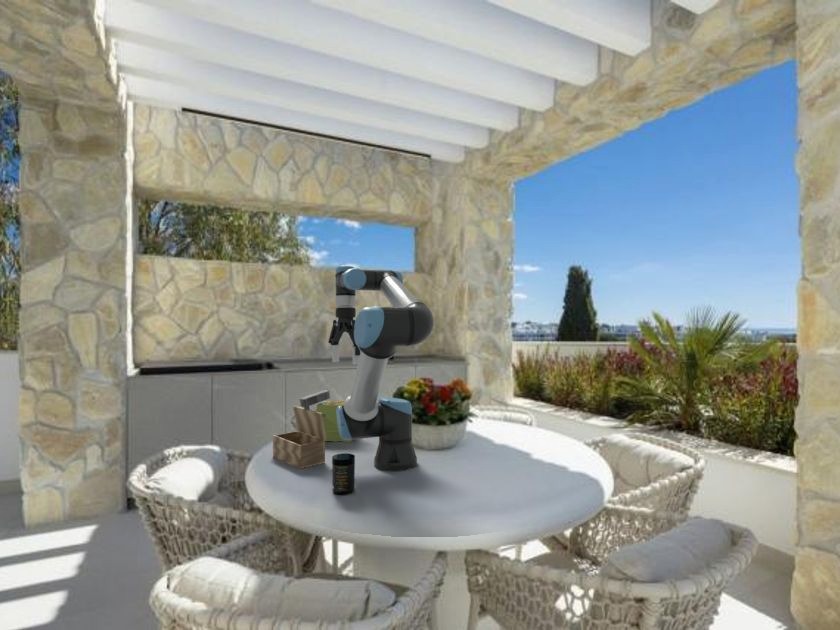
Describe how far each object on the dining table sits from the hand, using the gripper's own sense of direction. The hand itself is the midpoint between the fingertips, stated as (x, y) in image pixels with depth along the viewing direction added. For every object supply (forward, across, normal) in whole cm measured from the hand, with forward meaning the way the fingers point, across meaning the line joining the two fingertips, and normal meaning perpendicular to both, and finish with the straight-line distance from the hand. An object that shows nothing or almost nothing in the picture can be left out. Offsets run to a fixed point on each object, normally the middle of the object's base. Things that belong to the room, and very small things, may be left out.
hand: (345, 363), depth 179 cm
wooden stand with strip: (+20, +7, +13) cm, 25 cm away
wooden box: (+35, +7, +16) cm, 39 cm away
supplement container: (+35, -31, +22) cm, 52 cm away
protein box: (+35, +23, -11) cm, 43 cm away
